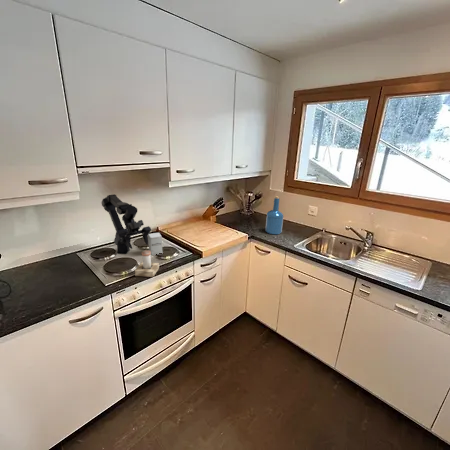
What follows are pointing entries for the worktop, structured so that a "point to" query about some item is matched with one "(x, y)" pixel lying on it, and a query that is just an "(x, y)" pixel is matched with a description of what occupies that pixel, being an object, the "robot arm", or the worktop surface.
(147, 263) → the white pink cylinder
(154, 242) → the supplement box
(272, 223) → the wine bottle
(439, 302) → the worktop surface
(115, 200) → the robot arm
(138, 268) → the beige square frame
